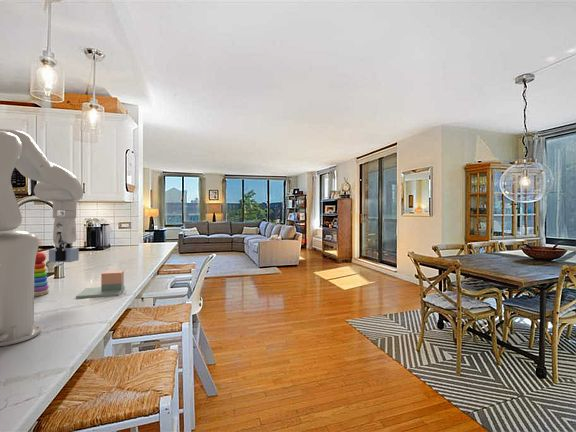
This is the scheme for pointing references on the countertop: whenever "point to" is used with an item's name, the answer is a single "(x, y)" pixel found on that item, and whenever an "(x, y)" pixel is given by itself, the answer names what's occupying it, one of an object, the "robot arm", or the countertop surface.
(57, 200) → the robot arm
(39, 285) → the stacking toy
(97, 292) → the build plate
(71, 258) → the slate brick
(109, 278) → the terracotta brick
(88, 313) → the countertop surface
